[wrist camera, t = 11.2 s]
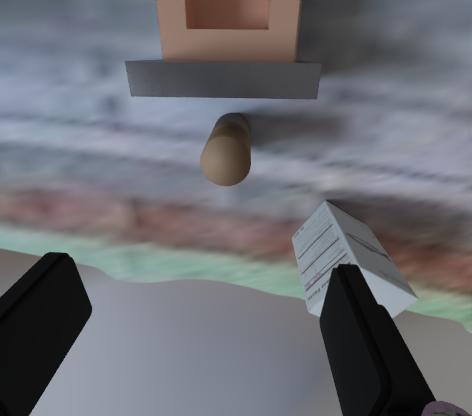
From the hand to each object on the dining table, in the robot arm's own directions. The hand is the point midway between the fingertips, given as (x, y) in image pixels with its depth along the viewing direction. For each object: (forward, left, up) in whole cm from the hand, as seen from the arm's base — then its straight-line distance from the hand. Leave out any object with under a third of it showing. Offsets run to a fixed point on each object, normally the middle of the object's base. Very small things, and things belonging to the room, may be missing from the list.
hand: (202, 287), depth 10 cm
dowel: (0, 0, -23) cm, 23 cm away
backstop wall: (0, +6, -23) cm, 24 cm away
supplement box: (+13, -13, -23) cm, 29 cm away
